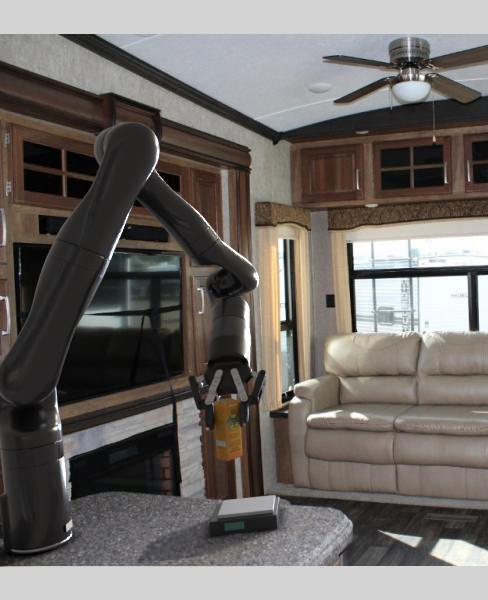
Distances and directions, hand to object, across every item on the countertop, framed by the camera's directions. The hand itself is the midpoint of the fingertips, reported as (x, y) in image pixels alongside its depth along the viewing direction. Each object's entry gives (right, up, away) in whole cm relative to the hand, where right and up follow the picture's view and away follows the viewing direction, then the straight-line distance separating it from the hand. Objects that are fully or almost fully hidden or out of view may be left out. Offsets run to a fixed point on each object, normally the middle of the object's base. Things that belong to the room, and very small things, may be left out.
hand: (226, 425), depth 113 cm
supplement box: (0, -6, +2) cm, 7 cm away
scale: (+3, -17, +4) cm, 18 cm away
